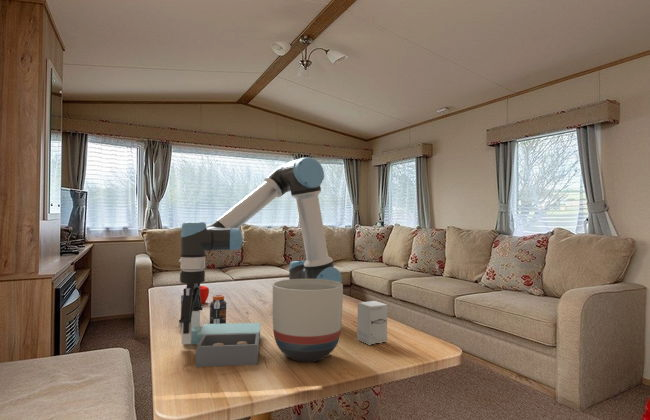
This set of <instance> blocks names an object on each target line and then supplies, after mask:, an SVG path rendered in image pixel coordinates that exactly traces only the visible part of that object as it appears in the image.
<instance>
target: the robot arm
mask: <svg viewBox="0 0 650 420" xmlns="http://www.w3.org/2000/svg"><path fill="white" fill-rule="evenodd" d="M324 179H325V171H324V168H323V165H322V164H321V163H320V161H318V160H317V159H316V158H313V157H300V158H296V159H294V160H288V161H285V162H284V163H282V164H281V165H279V166H278V167H277V168H276V169H275V170H273V171H272V172H271V173H270V174H269V175H267V176H265V178H264V180H263V182H262V183H261V184H260V185H259V186H258V187H257V188H256V189H254V190H253V191H251V192H250V193H249V194H248V195H246V196H245V197H244V198H243V199H242V200H240V201H239V202H237V203H236V204H235V205H234V206H233V207H231V208H229V210H228V211H226V212H225V213H223V214H222V215H221V216H220V217H219V218H217V219H216V220H215V221H214V222H213V223H211V224H210V225H208V226H207V223H206V222H204V221H184V222H183V223H182V224H181V232H180V259H178V263H179V264H180V265H179V266H180V271H179V282H180V283H181V284H186V287H185V288H183V290H182V291H183V303H182V311H181V310H180V318H179V319H178V323H180V324H181V323H182V325H181V345H192V344H191V337H192V327H201V311H203V306H202V304H201V294H200V286H201V284H202V283H204V282H205V280H206V271H205V270H204V269H206V252H211V251H230V252H231V251H237V250H239V249H241V247H242V244H243V233H242V231H241V229H240V228H241V227H243V226H244V224H246V223H247V222H248V221H249V220H250V219H252V218H253V217H254V216H255V215H257V214H258V213H259V212H260V211H261V210H263V209H264V208H265V207H267V205H268V204H270V203H271V202H273V200H275V199H276V198H281V197H282V196H284V195H286V193H288V192H290V195H291V196H292V198H293V199H295V200H296V205H297V211H298V217H299V222H300V230H301V235H302V240H303V246H304V247H303V248H304V252H305V253H304V254H305V258H306V259H305V260H294V261H293V260H292V261H291V262H290V263H289V268H288V273H289V275H288V278H289V279H325V280H332V281H337V282H340V283H342V274H341V272H340V271H339V270H338V269H337V268H336V267H335V266H334V264H335V263H334V260H333V258H332V257H331V256H330V255H329V252H328V248H327V247H328V246H327V240H326V236H325V230H324V224H323V217H322V212H321V205H320V199H319V195H320V194H321V192H322V187H321V185H322V184H323V181H324ZM289 279H288V280H289ZM193 310H194V311H193ZM185 317H188V318H185Z"/></svg>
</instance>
